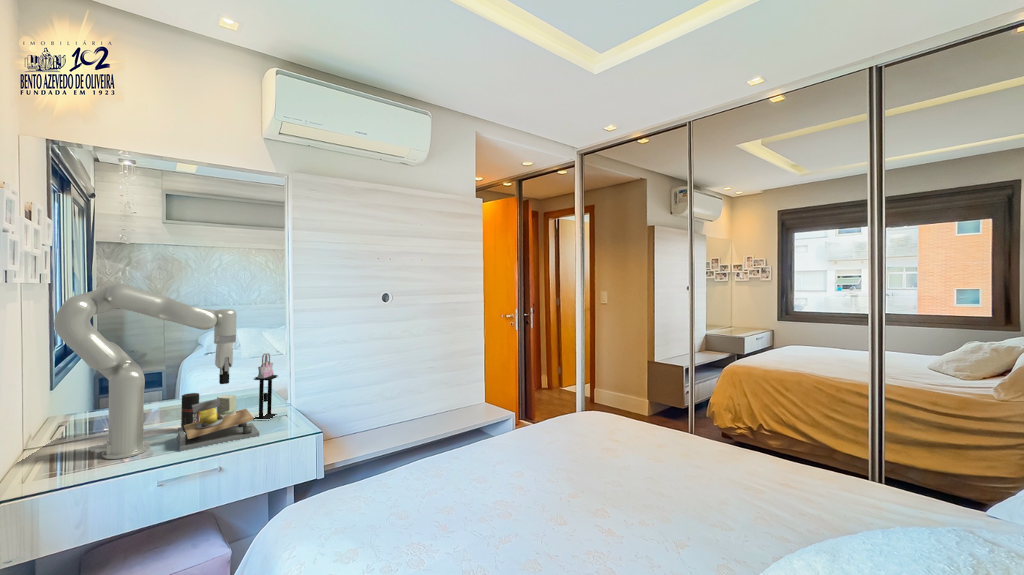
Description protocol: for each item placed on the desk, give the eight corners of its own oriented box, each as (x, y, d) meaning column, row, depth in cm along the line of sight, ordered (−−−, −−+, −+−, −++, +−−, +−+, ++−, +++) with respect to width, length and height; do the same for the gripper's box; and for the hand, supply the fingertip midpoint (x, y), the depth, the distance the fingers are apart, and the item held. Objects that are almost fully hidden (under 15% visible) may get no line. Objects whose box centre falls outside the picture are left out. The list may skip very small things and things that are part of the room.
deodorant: (191, 433, 177) (192, 397, 177) (177, 432, 177) (178, 396, 177) (202, 428, 183) (202, 393, 183) (188, 427, 183) (189, 392, 183)
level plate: (187, 439, 161) (183, 413, 160) (184, 428, 172) (180, 404, 170) (253, 420, 176) (250, 396, 174) (246, 411, 186) (243, 388, 185)
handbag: (266, 421, 194) (268, 355, 193) (250, 421, 194) (251, 355, 193) (279, 414, 204) (281, 351, 203) (263, 413, 204) (265, 350, 203)
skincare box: (236, 422, 192) (237, 395, 191) (229, 425, 187) (229, 398, 187) (223, 421, 192) (224, 394, 192) (215, 424, 188) (216, 397, 188)
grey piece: (180, 451, 160) (180, 438, 160) (176, 439, 170) (177, 427, 170) (259, 436, 177) (259, 424, 177) (252, 426, 188) (252, 414, 188)
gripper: (211, 337, 180) (210, 380, 181) (217, 342, 169) (216, 388, 169) (232, 336, 185) (231, 378, 186) (239, 341, 174) (238, 386, 174)
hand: (224, 383), depth 177 cm, fingers closed
